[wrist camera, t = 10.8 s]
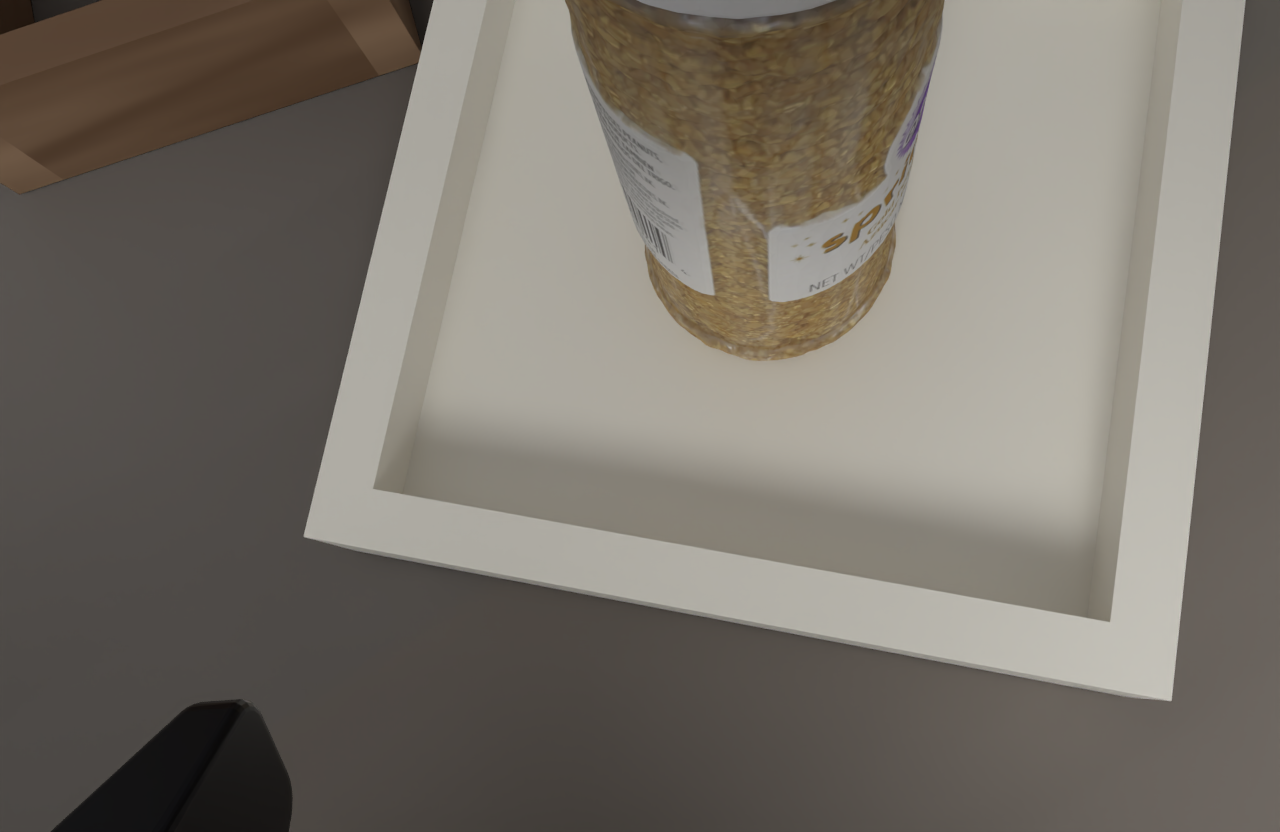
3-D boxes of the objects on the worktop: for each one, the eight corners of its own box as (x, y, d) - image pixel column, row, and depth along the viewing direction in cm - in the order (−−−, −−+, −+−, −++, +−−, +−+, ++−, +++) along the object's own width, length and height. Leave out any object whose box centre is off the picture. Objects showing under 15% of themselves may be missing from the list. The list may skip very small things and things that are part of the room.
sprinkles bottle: (901, 359, 21) (1097, -152, 8) (644, 371, 21) (426, -92, 8) (885, 119, 22) (1037, -695, 9) (640, 135, 22) (438, -610, 9)
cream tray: (1125, 697, 20) (1171, 701, 18) (356, 551, 22) (303, 537, 20) (1208, -39, 23) (1258, -122, 20) (509, -107, 25) (479, -190, 23)
